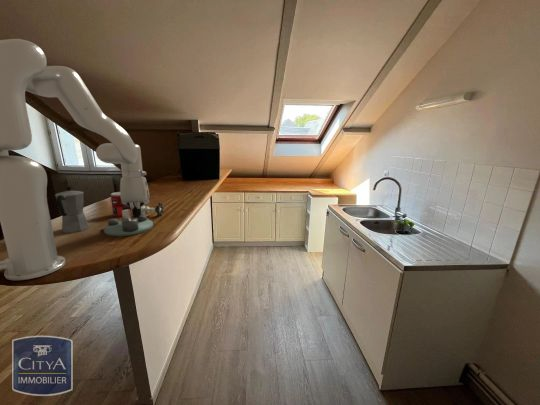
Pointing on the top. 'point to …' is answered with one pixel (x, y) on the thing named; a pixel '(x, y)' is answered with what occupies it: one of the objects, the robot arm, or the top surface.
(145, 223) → the instrument base
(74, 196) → the coffeepot
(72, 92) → the robot arm
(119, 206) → the canned food
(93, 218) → the top surface
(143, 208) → the valve
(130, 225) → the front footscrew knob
